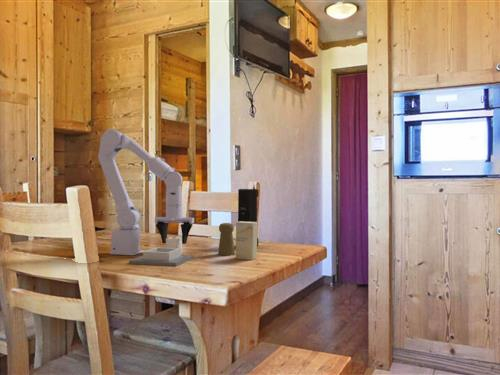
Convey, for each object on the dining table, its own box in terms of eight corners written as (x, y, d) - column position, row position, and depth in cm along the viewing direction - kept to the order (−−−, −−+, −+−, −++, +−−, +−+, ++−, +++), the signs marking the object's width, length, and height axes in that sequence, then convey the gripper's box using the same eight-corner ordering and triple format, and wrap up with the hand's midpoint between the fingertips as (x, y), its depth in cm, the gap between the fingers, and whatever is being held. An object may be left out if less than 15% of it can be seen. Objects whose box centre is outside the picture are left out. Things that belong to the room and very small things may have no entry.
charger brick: (166, 254, 152) (165, 238, 152) (172, 251, 157) (172, 236, 157) (176, 254, 151) (176, 238, 151) (182, 252, 156) (182, 236, 156)
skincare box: (235, 258, 142) (235, 222, 142) (240, 256, 146) (240, 221, 146) (252, 260, 139) (252, 222, 139) (257, 258, 143) (257, 221, 143)
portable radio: (234, 246, 169) (234, 182, 169) (245, 244, 173) (245, 182, 173) (247, 248, 164) (247, 182, 163) (259, 246, 168) (259, 182, 167)
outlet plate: (128, 263, 134) (128, 252, 134) (150, 256, 147) (150, 245, 147) (176, 266, 130) (176, 254, 130) (194, 258, 143) (194, 247, 143)
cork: (232, 256, 147) (232, 224, 147) (215, 255, 148) (215, 223, 148) (236, 253, 153) (236, 222, 153) (220, 252, 154) (220, 222, 154)
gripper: (150, 205, 152) (150, 244, 152) (188, 206, 148) (188, 245, 148) (159, 204, 158) (160, 241, 159) (196, 205, 155) (196, 242, 155)
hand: (174, 243), depth 154 cm, fingers open, 7 cm apart
